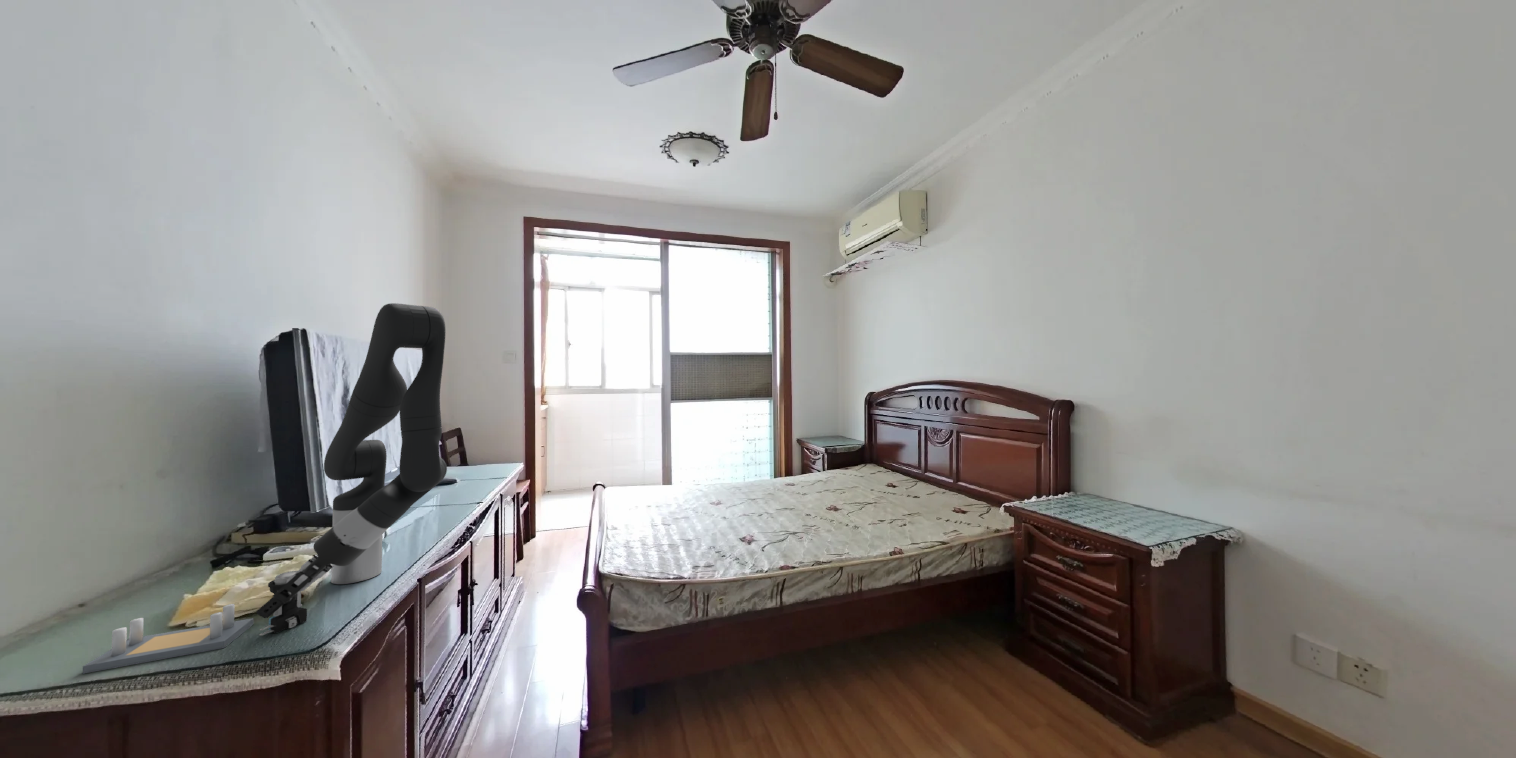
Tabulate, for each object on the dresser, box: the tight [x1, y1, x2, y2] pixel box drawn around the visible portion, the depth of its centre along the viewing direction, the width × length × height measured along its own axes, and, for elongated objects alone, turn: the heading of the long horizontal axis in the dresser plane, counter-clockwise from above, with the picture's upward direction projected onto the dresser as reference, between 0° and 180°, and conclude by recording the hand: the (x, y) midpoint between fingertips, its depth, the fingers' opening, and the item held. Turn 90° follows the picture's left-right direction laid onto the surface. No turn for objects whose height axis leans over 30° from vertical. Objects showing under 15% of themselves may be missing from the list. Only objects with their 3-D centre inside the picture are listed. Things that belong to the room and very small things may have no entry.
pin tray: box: [82, 603, 254, 674], centre depth 79 cm, size 9×16×5 cm, turn 116°
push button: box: [258, 570, 308, 636], centre depth 85 cm, size 7×5×10 cm
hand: (269, 608), depth 84 cm, fingers closed on push button, 4 cm apart
